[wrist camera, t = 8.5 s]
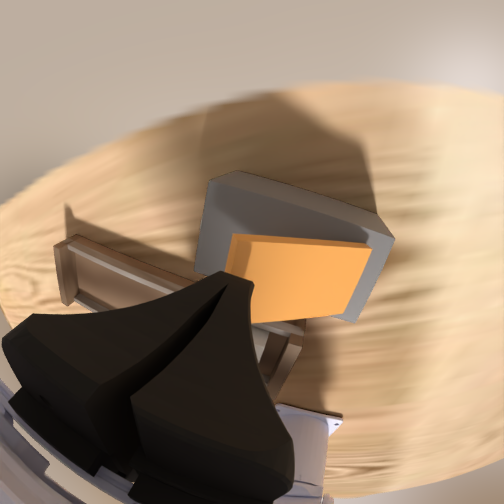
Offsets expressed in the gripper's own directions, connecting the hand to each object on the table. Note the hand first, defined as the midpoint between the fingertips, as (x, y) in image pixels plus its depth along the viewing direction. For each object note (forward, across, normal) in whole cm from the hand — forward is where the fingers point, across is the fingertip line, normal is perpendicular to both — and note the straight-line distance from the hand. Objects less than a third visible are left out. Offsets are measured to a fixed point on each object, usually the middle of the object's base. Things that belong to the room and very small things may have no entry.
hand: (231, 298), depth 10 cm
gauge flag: (+3, -2, 0) cm, 4 cm away
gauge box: (+10, -2, 0) cm, 10 cm away
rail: (+10, +8, +10) cm, 16 cm away
